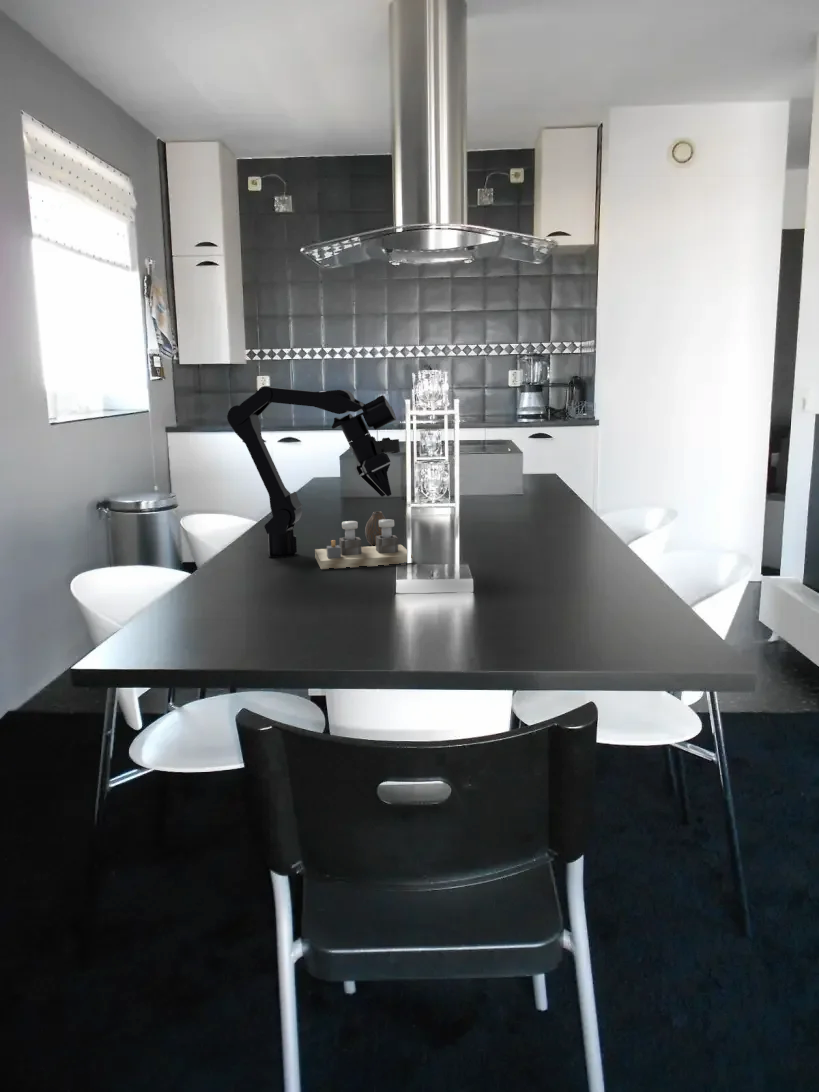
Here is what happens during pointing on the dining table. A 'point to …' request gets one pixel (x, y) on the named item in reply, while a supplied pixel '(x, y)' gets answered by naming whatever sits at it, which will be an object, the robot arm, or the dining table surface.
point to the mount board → (364, 554)
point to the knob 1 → (349, 529)
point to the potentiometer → (333, 550)
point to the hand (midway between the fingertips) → (386, 495)
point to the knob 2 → (386, 527)
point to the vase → (373, 527)
